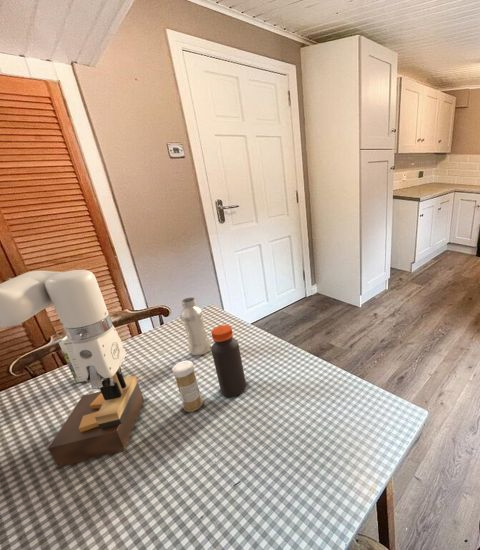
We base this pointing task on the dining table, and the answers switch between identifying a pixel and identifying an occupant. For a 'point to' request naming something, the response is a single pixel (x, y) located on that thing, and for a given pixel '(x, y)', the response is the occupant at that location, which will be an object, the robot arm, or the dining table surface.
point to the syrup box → (71, 359)
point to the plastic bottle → (194, 327)
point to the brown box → (92, 434)
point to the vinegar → (228, 361)
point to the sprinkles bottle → (187, 385)
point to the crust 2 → (97, 402)
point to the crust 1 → (88, 422)
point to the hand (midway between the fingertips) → (115, 392)
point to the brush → (117, 404)
